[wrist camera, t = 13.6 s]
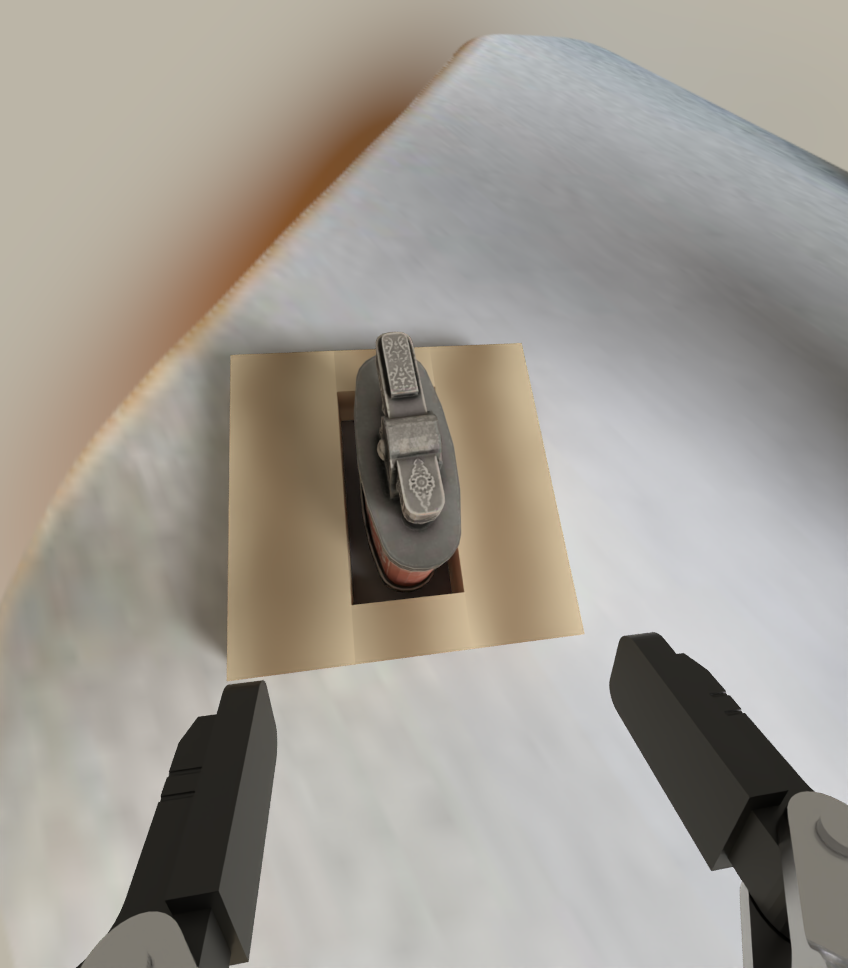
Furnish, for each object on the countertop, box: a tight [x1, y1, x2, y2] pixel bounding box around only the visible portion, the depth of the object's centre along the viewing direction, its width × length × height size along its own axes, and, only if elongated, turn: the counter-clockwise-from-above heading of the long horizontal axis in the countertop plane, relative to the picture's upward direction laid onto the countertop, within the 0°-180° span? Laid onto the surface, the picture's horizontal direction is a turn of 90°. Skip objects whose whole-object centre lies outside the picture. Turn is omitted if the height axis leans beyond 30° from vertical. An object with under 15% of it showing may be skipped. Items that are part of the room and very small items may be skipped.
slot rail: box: [227, 343, 584, 681], centre depth 22 cm, size 14×14×3 cm
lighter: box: [354, 332, 461, 592], centre depth 18 cm, size 8×3×10 cm, turn 10°
